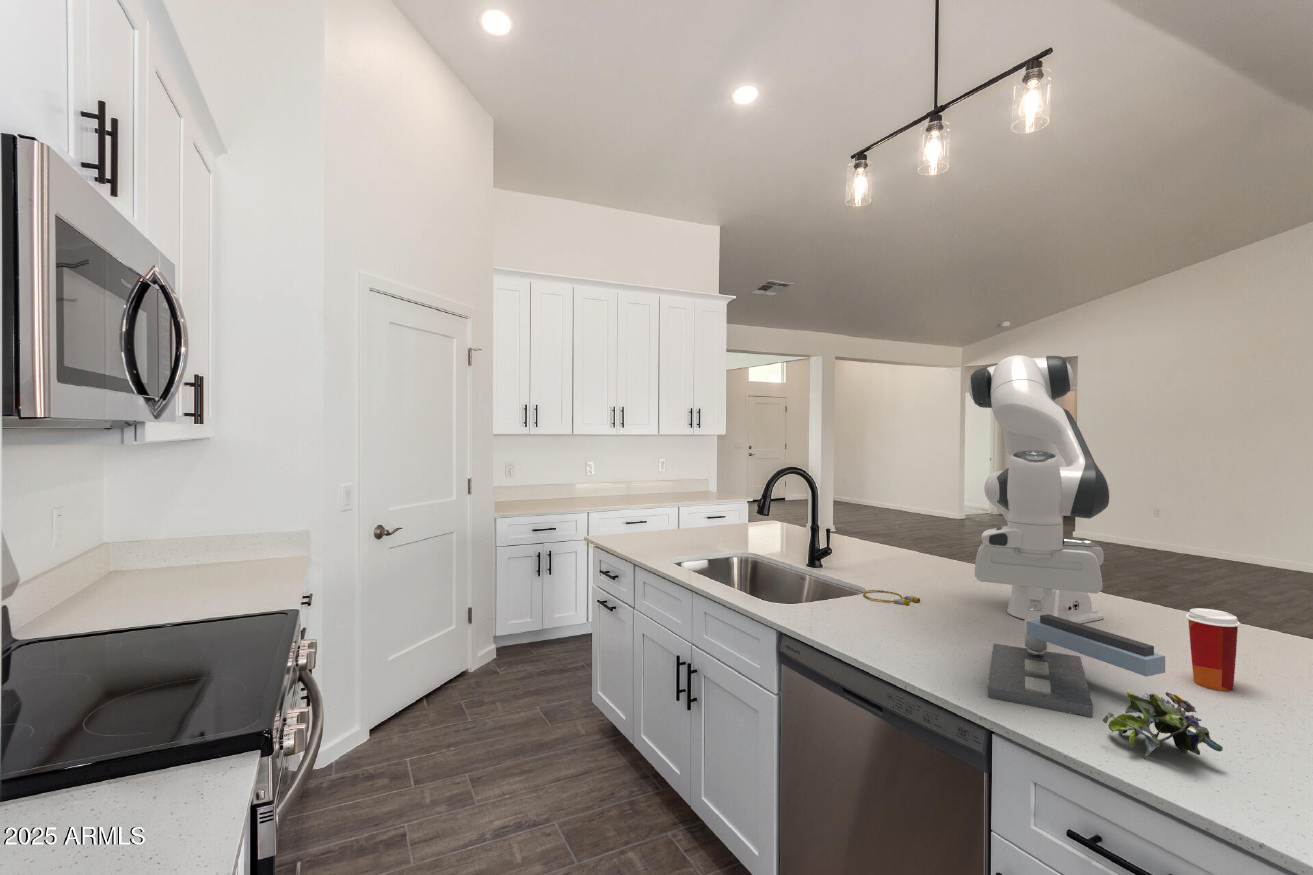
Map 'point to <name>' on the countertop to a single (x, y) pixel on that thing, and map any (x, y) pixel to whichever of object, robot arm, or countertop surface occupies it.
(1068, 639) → the bar
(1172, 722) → the passion flower
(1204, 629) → the paper cup
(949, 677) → the countertop surface
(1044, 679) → the dark grey base plate
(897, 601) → the extension cord
